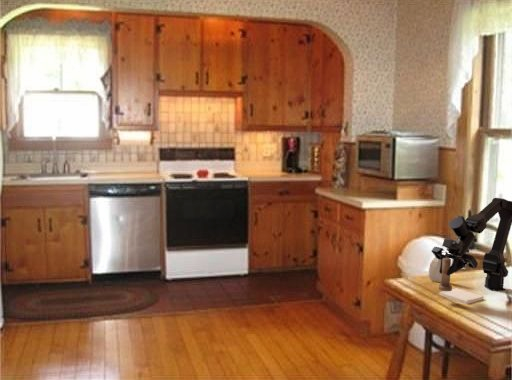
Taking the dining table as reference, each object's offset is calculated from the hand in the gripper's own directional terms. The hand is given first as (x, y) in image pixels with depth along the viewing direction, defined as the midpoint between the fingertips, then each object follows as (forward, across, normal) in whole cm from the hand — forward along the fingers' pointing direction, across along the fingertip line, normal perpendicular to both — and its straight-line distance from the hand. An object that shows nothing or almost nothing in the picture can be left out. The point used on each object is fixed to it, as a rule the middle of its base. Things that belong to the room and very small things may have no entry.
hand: (443, 273), depth 216 cm
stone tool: (-7, -20, +24) cm, 32 cm away
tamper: (+4, 0, +6) cm, 7 cm away
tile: (0, 0, +17) cm, 17 cm away
